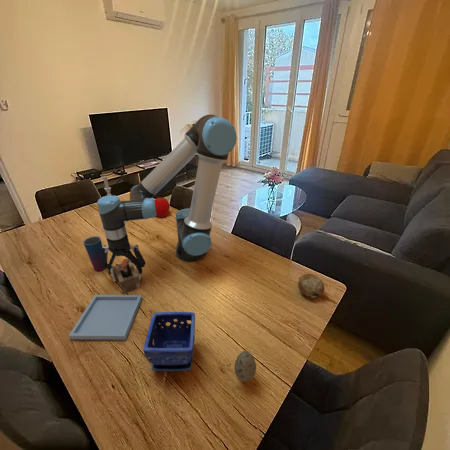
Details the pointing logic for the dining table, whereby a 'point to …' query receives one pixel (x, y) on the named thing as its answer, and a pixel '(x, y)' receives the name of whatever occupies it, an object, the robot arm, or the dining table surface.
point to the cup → (94, 252)
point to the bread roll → (311, 285)
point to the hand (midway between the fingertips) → (127, 278)
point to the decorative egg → (245, 366)
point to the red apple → (161, 207)
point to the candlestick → (107, 186)
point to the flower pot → (170, 341)
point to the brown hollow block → (128, 278)
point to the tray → (107, 318)
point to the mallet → (124, 267)
